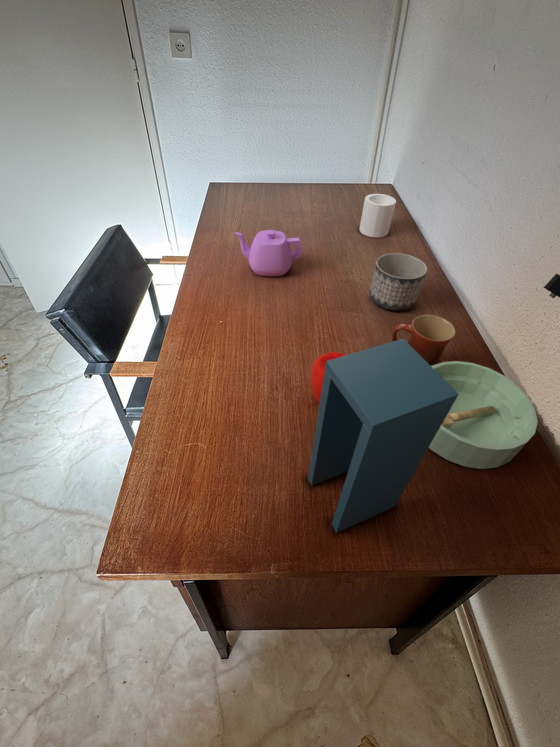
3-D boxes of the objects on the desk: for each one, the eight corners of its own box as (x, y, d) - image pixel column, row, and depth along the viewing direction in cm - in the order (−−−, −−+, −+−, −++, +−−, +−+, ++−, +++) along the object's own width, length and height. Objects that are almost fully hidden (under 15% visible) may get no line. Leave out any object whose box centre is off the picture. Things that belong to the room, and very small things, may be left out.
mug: (438, 353, 86) (453, 318, 79) (440, 379, 80) (457, 344, 73) (385, 344, 88) (396, 309, 81) (384, 369, 82) (395, 334, 75)
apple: (342, 423, 72) (351, 386, 64) (301, 407, 74) (304, 369, 66) (356, 393, 77) (366, 355, 69) (318, 378, 80) (323, 340, 72)
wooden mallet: (486, 406, 75) (490, 401, 74) (497, 417, 73) (501, 412, 72) (423, 418, 68) (428, 412, 67) (434, 431, 66) (438, 425, 65)
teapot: (237, 255, 116) (235, 219, 108) (301, 257, 116) (303, 222, 108) (232, 278, 107) (230, 241, 99) (302, 280, 107) (304, 243, 99)
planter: (371, 283, 106) (378, 249, 99) (416, 291, 104) (427, 257, 97) (365, 308, 98) (373, 273, 90) (414, 317, 96) (427, 282, 88)
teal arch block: (395, 506, 60) (459, 394, 40) (336, 533, 57) (373, 425, 37) (362, 456, 67) (403, 338, 46) (307, 478, 63) (326, 361, 43)
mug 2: (369, 218, 137) (375, 188, 129) (396, 225, 133) (403, 195, 126) (354, 232, 129) (359, 200, 121) (381, 240, 125) (389, 208, 118)
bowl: (542, 447, 69) (564, 425, 64) (455, 488, 63) (472, 466, 58) (464, 373, 82) (477, 350, 77) (385, 401, 76) (394, 377, 71)
